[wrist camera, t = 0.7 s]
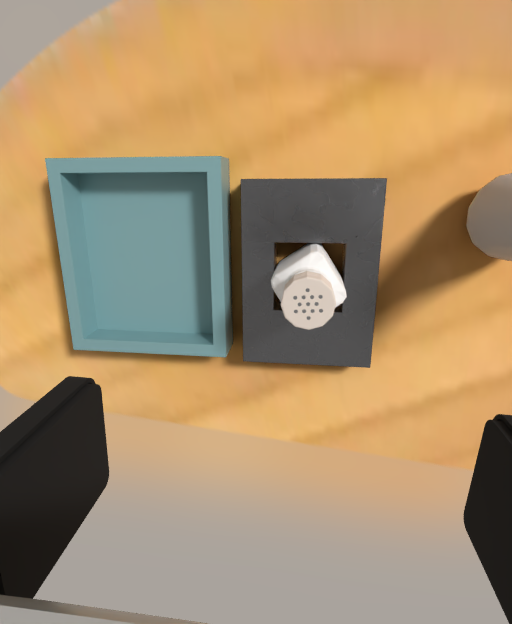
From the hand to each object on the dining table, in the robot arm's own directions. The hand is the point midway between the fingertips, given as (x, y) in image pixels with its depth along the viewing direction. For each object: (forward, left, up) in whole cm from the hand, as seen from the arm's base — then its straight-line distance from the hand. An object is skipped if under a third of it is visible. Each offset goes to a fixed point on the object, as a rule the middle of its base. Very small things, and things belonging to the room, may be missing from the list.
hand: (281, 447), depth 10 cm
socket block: (-1, +1, -24) cm, 24 cm away
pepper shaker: (-1, +1, -24) cm, 24 cm away
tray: (+12, 0, -24) cm, 27 cm away
